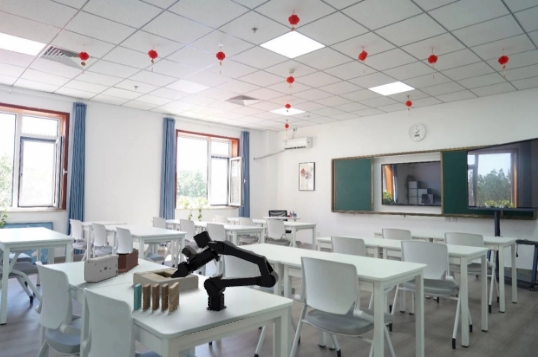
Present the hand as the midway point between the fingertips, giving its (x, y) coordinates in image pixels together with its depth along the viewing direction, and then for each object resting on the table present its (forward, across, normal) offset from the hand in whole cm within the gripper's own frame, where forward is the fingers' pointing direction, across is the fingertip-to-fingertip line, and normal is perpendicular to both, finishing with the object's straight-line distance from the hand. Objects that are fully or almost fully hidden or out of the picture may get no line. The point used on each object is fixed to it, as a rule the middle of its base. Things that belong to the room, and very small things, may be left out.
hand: (175, 274), depth 162 cm
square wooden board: (+6, +3, +12) cm, 14 cm away
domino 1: (+20, +6, +4) cm, 21 cm away
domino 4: (+10, +4, +10) cm, 15 cm away
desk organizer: (+69, -77, -23) cm, 105 cm away
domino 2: (+16, +5, +6) cm, 18 cm away
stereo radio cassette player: (+65, -45, -21) cm, 82 cm away
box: (+26, -33, +2) cm, 42 cm away
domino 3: (+13, +4, +8) cm, 16 cm away
